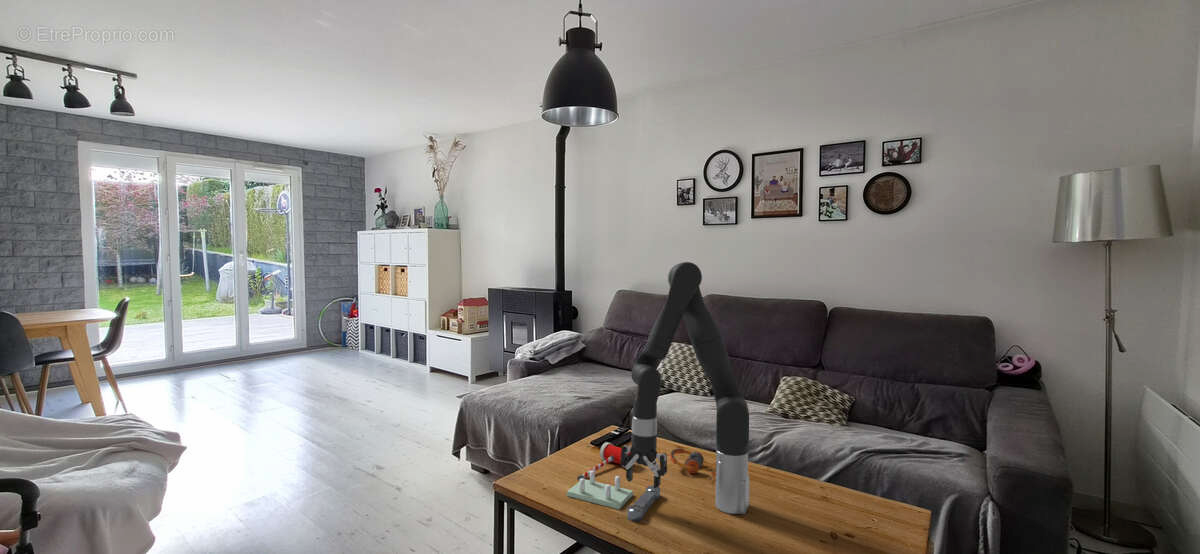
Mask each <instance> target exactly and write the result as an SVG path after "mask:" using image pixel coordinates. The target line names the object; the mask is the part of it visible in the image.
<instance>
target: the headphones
mask: <svg viewBox="0 0 1200 554" xmlns="http://www.w3.org/2000/svg"><path fill="white" fill-rule="evenodd" d="M676 454H687V455H689V456H688V458H686V460H685V462H684V463H681V461H680V462H679V461H678V459H676V458H675V457H674V455H676ZM669 456H670V457H669V458H670V461H671V462H672V463H673V464H674V465H676V466H678V467H681V468H684V469H685V470H686V471H687V472H688V473H690V474H697V473H698V472H699V471H703V470H705V471H706V470H707V471H708V470H711V469H713V468H714V467H715V470H716V462H715V463H714V464H713V465H709V464H708V462H706V461H705V460H704V456H703V454H702V453H701V452H697V451H693V452H692V451H690V450H687V449H684V448H675V449H673V450H671V452H670V455H669ZM704 462H705V464H706V466H707V467H709V468H701V467H702V466H703V463H704ZM711 474H712V476H713V477H710V478H709V482H711V480H712V479H714V480H716V472H713V471H712V472H711Z"/></svg>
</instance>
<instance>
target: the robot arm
mask: <svg viewBox="0 0 1200 554" xmlns="http://www.w3.org/2000/svg"><path fill="white" fill-rule="evenodd" d="M667 275H668V276H667V279H668V281H667V282H668V285H669V290H668V294H667V298H666V300H665V302H664V305H663V307H662V309H661V311H660V313H659V315H658V317H657V318H656V320H655V322H654V324H653V326H652V327H651V330H650V332H649V335H648V338H647V340H646V343H645V346H644V348H643V349H642V351H640V354H639V355H638V357H637V359H636V360H635V362H634V364H633V366H632V368H631V379H632V381H633V382H634V384H635V385H637V395H636V396H635V397H634V398H633V404H632V405H633V407H632V420H631V441H630V442H631V446H629V445H628V444H627V443H626V444H625V445H623V446H622V447H620V448H621V460H620V464H619V465H620V466H621V467H622V466H624V467H625V468H624V467H623V468H624V469H626V470H625V471H626V472H625V474H626V475H625V479H626V480H627V482H632V481H633V478H634V476H633V475H634V467H633V466H634V465H635V463H636V464H637V465H642V466H645V467H648V469H650V471H652V473H653V474H654V476H653V486H654V488H657V487H659V488H660V486H661V481H662V478H661V477H664V476H665V475H666V474H667V473H668V454H667V453H666V452H664V453H659V452H658V451H657V446H658V445H657V443H658V441H657V440H658V419H657V414H658V413H657V411H658V405H657V404H658V399H659V395H660V392H661V386H662V378H661V373H660V372H659V370H658V369H657V367H658V364H659V363H660V361H663V360H665V359H666V357H668V354H669V351H670V349H671V347H672V343H673V341H674V338H675V336H676V333H677V332H678V328H679V326H680V323H681V321H682V318H683V320H684V324H685V327H686V330H687V333H688V336H689V340H690V343H691V346H692V349H693V351H694V354H695V357H696V359H697V361H698V363H699V365H700V367H701V369H702V371H703V372H704V374H705V376H706V378H707V379H708V381H709V383H710V386H711V388H712V393H713V397H714V400H715V406H716V417H715V418H716V420H715V422H716V423H715V424H716V425H715V427H716V428H715V432H716V433H715V434H716V435H715V450H716V451H715V463H716V464H715V468H716V469H715V473H716V477H715V500H714V501H715V507H716V509H718V510H719V511H721V512H722V513H727V514H732V515H737V514H738V515H739V514H741V515H746V513H747V511H748V508H749V506H750V474H749V443H750V412H749V411H750V410H749V407H748V404H747V401H746V399H745V398H744V396H743V394H742V392H741V390H740V388H739V386H738V385H739V384H738V383H737V382H736V379H735V377H734V374H733V369H732V366H731V360H730V357H729V353H728V350H727V347H726V344H725V341H724V338H723V335H722V332H721V330H720V328H719V326H718V324H717V322H716V321H715V319H714V318H713V315H712V314H711V312H710V311H709V309H708V308H707V305H706V304H705V301H704V298H703V295H702V292H701V288H700V285H701V284H702V279H703V276H702V271H701V269H700V267H699V266H698V265H697V264H695V263H693V262H690V261H689V262H688V261H683V262H680V263H677V264H675V265H674V266H673V267H671V269H670V270H669V273H668V274H667ZM629 452H630V453H631V454H632V456H633V458H632V459H631V460H630V462H627V459H628V453H629ZM656 459H657V460H658V461H657V460H656ZM658 462H659V463H658Z"/></svg>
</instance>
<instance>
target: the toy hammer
mask: <svg viewBox="0 0 1200 554" xmlns="http://www.w3.org/2000/svg"><path fill="white" fill-rule="evenodd" d="M621 448H622V447H619V446H615V445H613V443H611V442H607V441H605V442H604V443H603V444H602V445H601V447H600V449H599V457H600V459H601V460H602V461H601V462H600V463H598V464H597V465H595V466H594V467H592V468H591V469H589V470H588V471H586V472H584V473H583V474H579V475H578V476H577V478H576V479H577V480H578V482H579V481H580V479H581V478H583V479H585V478H587V477H588V476H589V477H590V471H591V470H593V471H595V472H596V471H599V470H600V469H601V468H603V467H604V466H606V465H608V464H609V463H615V464H619V465H620V460H621ZM632 458H633V456H632V454H631V453H630V452H629V453H628V459H627V462H630V460H631V459H632ZM621 467H622V468H624V469H626V468H625V467H624V466H621Z"/></svg>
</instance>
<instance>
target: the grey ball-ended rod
mask: <svg viewBox="0 0 1200 554" xmlns="http://www.w3.org/2000/svg"><path fill="white" fill-rule="evenodd" d="M660 499H661V487H660V486H659V487H657V488H654V485H648V486H647V487H646V488H645V491H644V492H643V493H642V494H641V496H639V498H638V499H637V500H636V501H635V502H634V503H632V505H629V506H628V507H627V513H626V514H627V515H626V517H627V519H628V520H629V521H631V522H634V523H635V522H637V523H638V522H640V521H642V520H643V518H644V515H645V513H646V512H648V510H649V509H650V508H651V507H652V505H654V504H655V503H656V501H658V500H660Z"/></svg>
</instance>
